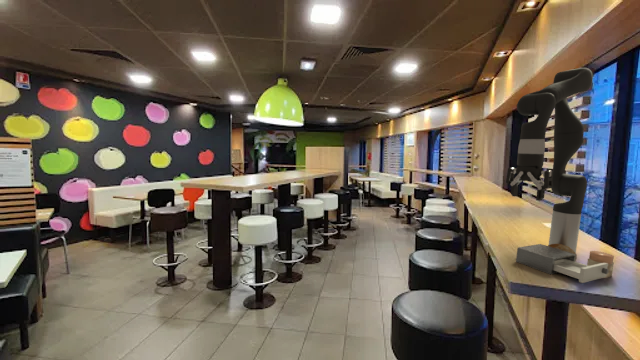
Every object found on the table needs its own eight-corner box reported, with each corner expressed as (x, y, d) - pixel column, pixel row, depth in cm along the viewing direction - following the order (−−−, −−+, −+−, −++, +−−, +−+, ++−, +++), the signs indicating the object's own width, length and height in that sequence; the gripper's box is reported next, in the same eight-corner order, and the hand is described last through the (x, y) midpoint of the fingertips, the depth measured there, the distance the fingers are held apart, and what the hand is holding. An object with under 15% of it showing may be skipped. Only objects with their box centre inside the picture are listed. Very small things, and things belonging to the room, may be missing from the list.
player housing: (538, 257, 116) (540, 243, 116) (574, 269, 105) (576, 254, 105) (515, 261, 111) (517, 247, 110) (551, 274, 100) (553, 258, 99)
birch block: (593, 270, 105) (595, 257, 104) (611, 276, 100) (613, 262, 100) (586, 272, 103) (587, 258, 102) (604, 278, 98) (606, 264, 98)
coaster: (594, 256, 105) (595, 250, 105) (616, 262, 100) (617, 255, 99) (585, 258, 103) (586, 251, 102) (607, 264, 97) (608, 257, 97)
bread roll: (558, 272, 111) (572, 257, 107) (534, 253, 119) (545, 238, 115) (573, 269, 115) (586, 254, 111) (548, 250, 123) (560, 236, 119)
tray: (564, 263, 108) (566, 251, 108) (609, 278, 96) (611, 264, 96) (541, 268, 103) (542, 255, 102) (586, 284, 91) (588, 270, 90)
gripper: (560, 153, 96) (555, 201, 98) (517, 152, 109) (513, 194, 111) (546, 153, 93) (541, 202, 95) (504, 151, 107) (500, 195, 108)
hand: (526, 198), depth 103 cm, fingers open, 8 cm apart
